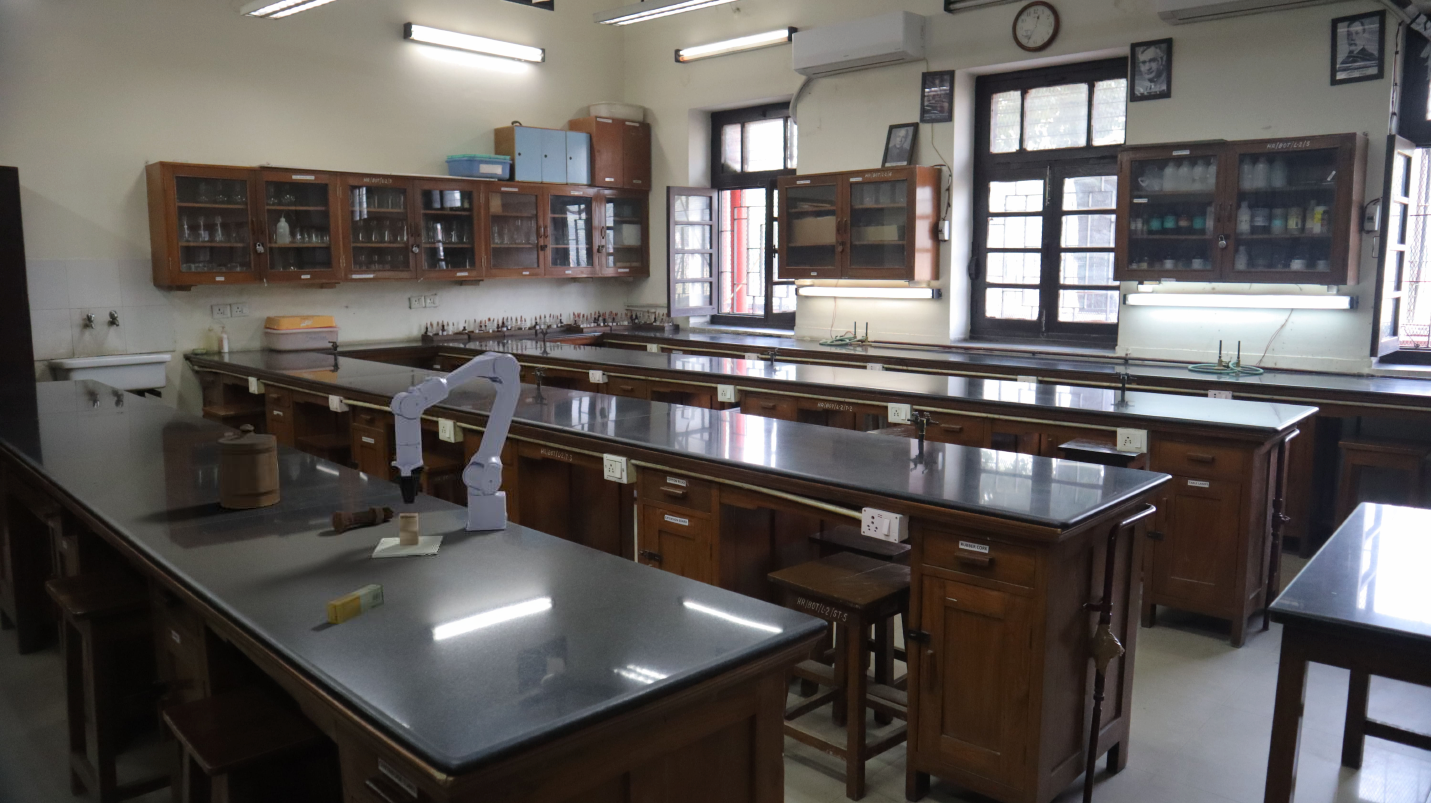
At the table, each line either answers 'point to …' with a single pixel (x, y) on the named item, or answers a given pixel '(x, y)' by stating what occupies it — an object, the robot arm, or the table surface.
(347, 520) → the bolt
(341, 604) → the medication box
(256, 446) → the wooden container
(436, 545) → the board
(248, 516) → the table surface
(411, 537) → the slab
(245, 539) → the table surface
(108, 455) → the table surface
